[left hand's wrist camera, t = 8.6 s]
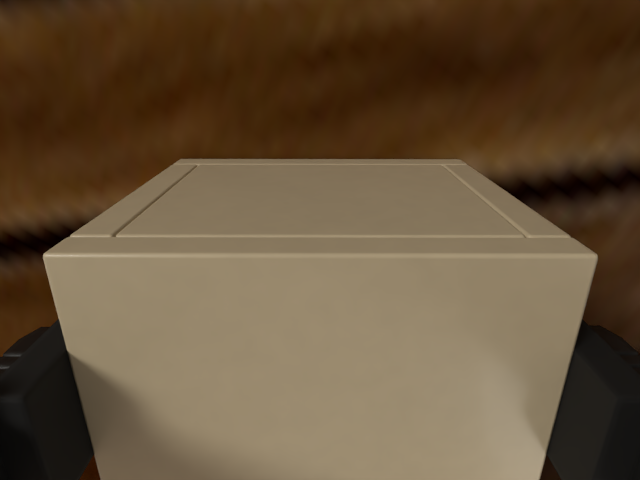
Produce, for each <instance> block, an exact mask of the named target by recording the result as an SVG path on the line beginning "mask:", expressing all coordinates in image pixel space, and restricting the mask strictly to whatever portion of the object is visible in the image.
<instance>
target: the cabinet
mask: <svg viewBox="0 0 640 480" xmlns="http://www.w3.org/2000/svg"><path fill="white" fill-rule="evenodd" d="M43 260H44V264H45V268H46V272H47V275H48V279H49V283H50V287H51V291H52V295H53V298H54V302H55V306H56V310H57V314H58V318H59V321H60V325H61V329H62V333H63V337H64V341H65V344H66V348H67V352H68V356H69V360H70V363H71V367H72V371H73V375H74V379H75V383H76V386H77V390H78V394H79V398H80V402H81V406H82V409H83V413H84V417H85V421H86V425H87V429H88V432H89V436H90V440H91V444H92V448H93V452H94V455H95V459H96V463H97V467H98V471H99V475H100V478H101V480H540V476H541V473H542V469H543V465H544V461H545V457H546V454H547V450H548V446H549V442H550V439H551V435H552V431H553V427H554V423H555V420H556V416H557V412H558V408H559V404H560V401H561V397H562V393H563V389H564V386H565V382H566V378H567V374H568V370H569V367H570V363H571V359H572V355H573V352H574V348H575V344H576V340H577V336H578V333H579V329H580V325H581V321H582V318H583V314H584V310H585V306H586V302H587V299H588V295H589V291H590V287H591V283H592V280H593V276H594V272H595V268H596V265H597V261H598V255H597V254H596V253H595V252H593V251H592V250H590V249H589V248H587V247H586V246H584V245H583V244H582V243H580V242H579V241H577V240H576V239H574V238H571V237H570V235H568V234H567V233H565V232H564V231H563V230H561V229H560V228H558V227H557V226H555V225H554V224H553V223H551V222H550V221H548V220H547V219H545V218H544V217H542V216H541V215H540V214H538V213H537V212H535V211H534V210H532V209H531V208H529V207H528V206H527V205H525V204H524V203H522V202H521V201H519V200H518V199H516V198H515V197H514V196H512V195H511V194H509V193H508V192H506V191H505V190H503V189H502V188H501V187H499V186H498V185H496V184H495V183H493V182H492V181H490V180H489V179H488V178H486V177H485V176H483V175H482V174H480V173H479V172H478V171H476V170H475V169H473V168H472V167H470V166H469V165H468V164H466V163H465V162H463V161H462V160H460V159H180V160H179V161H177V162H176V163H174V164H173V165H171V166H170V167H169V168H167V169H166V170H164V171H163V172H161V173H160V174H158V175H157V176H155V177H154V178H153V179H151V180H150V181H148V182H147V183H145V184H144V185H142V186H141V187H140V188H138V189H137V190H135V191H134V192H132V193H131V194H129V195H128V196H126V197H125V198H124V199H122V200H121V201H119V202H118V203H116V204H115V205H113V206H112V207H110V208H109V209H108V210H106V211H105V212H103V213H102V214H100V215H99V216H97V217H96V218H95V219H93V220H92V221H90V222H89V223H87V224H86V225H84V226H83V227H81V228H80V229H79V230H77V231H76V232H74V233H73V234H71V235H70V237H68V238H66V239H64V240H63V241H61V242H60V243H58V244H57V245H55V246H54V247H53V248H51V249H50V250H48V251H47V252H45V253H44V255H43Z"/></svg>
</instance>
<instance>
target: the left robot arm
mask: <svg viewBox="0 0 640 480" xmlns="http://www.w3.org/2000/svg"><path fill="white" fill-rule="evenodd" d="M93 455H94V452H93V448H92V444H91V440H90V436H89V432H88V429H87V425H86V421H85V417H84V413H83V409H82V406H81V402H80V398H79V394H78V390H77V386H76V383H75V379H74V375H73V371H72V367H71V363H70V360H69V356H68V352H67V348H66V344H65V341H64V337H63V333H62V329H61V325H60V321H59V319H58V320H57V321H56V322H55V323H54V324H53V325H52V326H51V327H40V328H39V329H37V330H35V331H33V332H31V333H30V334H28V335H26V336H24V337H23V338H21V339H19V340H18V341H17V342H16V343H15V344H14V345H13V346H11V347H10V348H9V349H8V350H7V351H6V352H5V353H4V354H3V357H0V480H79V479H80V477H81V475H82V474H83V472H84V470H85V468H86V467H87V465H88V463H89V461H90V460H91V458H92V456H93ZM547 456H548V457H549V459H550V461H551V462H552V464H553V466H554V468H555V469H556V471H557V473H558V474H559V476H560V478H561V480H640V355H638V352H637V351H636V350H635V349H633V348H632V347H631V346H630V345H629V344H628V343H627V342H626V341H625V340H624V339H622V338H621V337H619V336H617V335H616V334H614V333H612V332H610V331H608V330H607V329H605V328H603V327H601V326H589V325H588V324H587V323H586V322H584V321H583V320H582V321H581V325H580V329H579V333H578V336H577V340H576V344H575V348H574V352H573V355H572V359H571V363H570V367H569V370H568V374H567V378H566V382H565V386H564V389H563V393H562V397H561V401H560V404H559V408H558V412H557V416H556V420H555V423H554V427H553V431H552V435H551V439H550V442H549V446H548V450H547Z"/></svg>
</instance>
